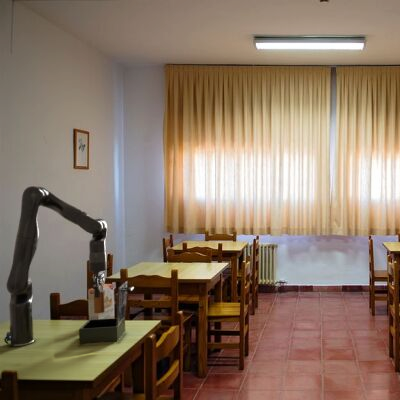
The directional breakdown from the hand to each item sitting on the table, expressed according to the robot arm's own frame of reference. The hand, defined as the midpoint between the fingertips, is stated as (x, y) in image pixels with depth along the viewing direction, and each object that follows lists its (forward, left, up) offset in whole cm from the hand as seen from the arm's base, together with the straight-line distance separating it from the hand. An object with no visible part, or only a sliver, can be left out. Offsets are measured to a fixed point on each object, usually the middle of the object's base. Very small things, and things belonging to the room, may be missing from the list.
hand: (99, 295), depth 239 cm
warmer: (+1, 0, -21) cm, 21 cm away
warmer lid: (+9, -3, -4) cm, 11 cm away
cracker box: (+3, +25, -22) cm, 33 cm away
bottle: (0, 0, -8) cm, 8 cm away
